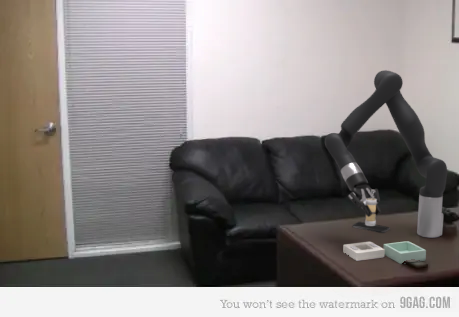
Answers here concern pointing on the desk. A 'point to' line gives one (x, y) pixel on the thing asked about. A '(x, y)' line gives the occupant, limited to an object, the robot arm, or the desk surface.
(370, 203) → the white and tan cylinder
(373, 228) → the phone
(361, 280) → the desk surface
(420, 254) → the parts tray
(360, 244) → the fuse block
